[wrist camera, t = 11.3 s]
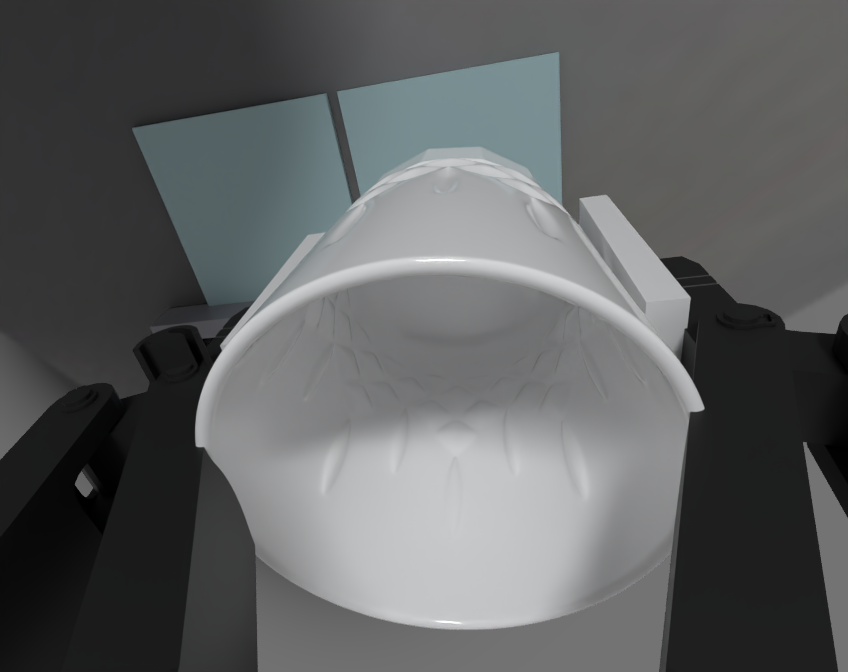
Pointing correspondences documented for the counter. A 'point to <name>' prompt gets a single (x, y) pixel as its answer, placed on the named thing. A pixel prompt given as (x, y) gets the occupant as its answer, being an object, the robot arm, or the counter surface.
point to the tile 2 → (460, 118)
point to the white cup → (453, 408)
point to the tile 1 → (247, 188)
